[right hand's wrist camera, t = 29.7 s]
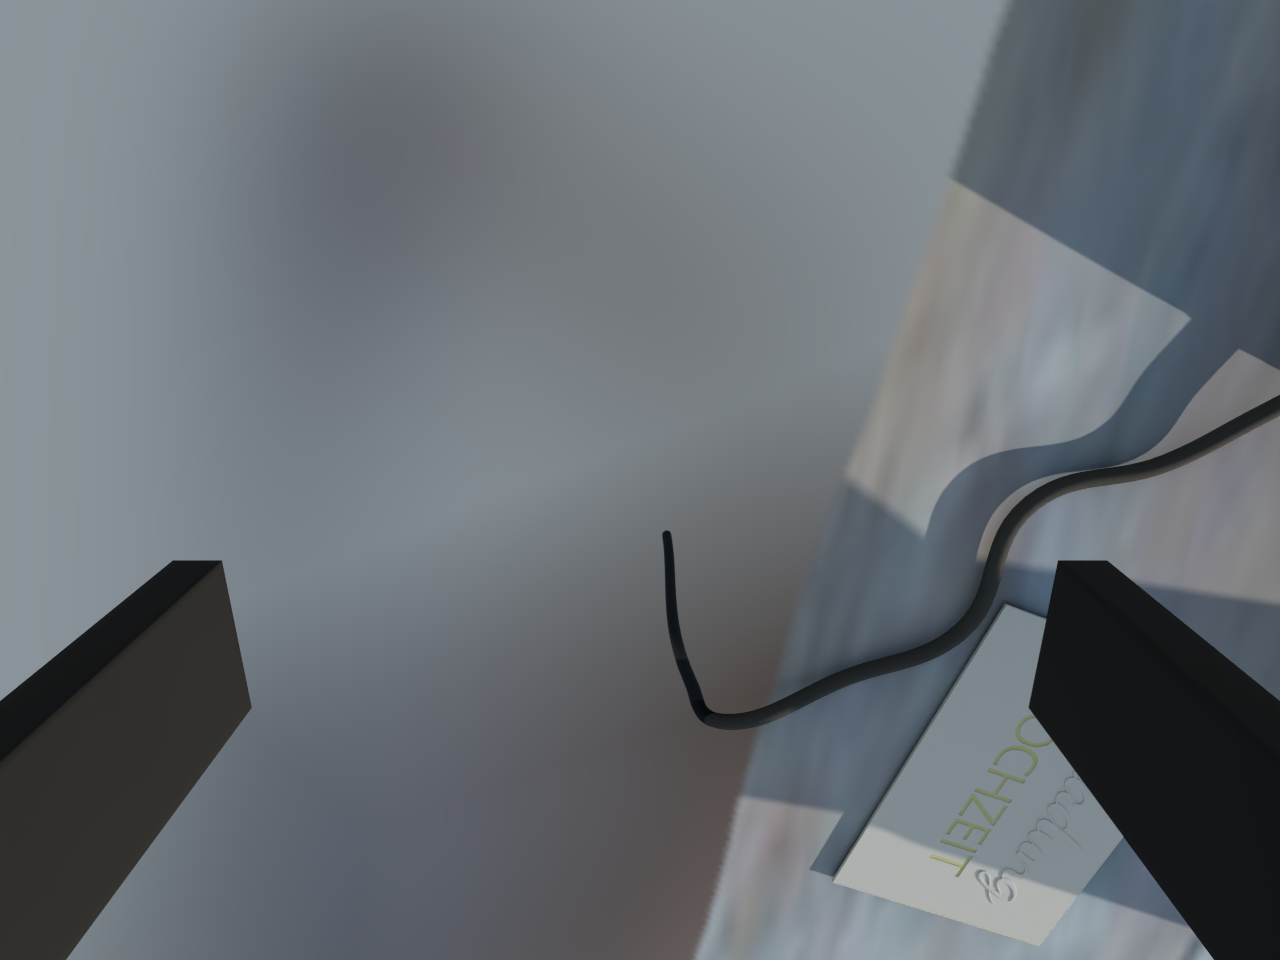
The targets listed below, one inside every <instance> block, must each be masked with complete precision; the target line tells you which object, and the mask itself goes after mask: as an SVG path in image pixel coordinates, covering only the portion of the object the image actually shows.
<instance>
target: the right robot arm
mask: <svg viewBox="0 0 1280 960" xmlns="http://www.w3.org/2000/svg"><path fill="white" fill-rule="evenodd" d="M1278 416H1280V395H1279V396H1277V397H1275V398H1273V399H1271V400H1269V401H1267V402H1265V403H1263V404H1261V405H1259V406H1257V407H1256V408H1254V409H1252V410H1250V411H1248V412H1246V413H1244V414H1242V415H1240V416H1239V417H1237V418H1235V419H1233V420H1231V421H1229V422H1228V423H1226V424H1224V425H1222V426H1220V427H1219V428H1217V429H1215V430H1213V431H1211V432H1209V433H1208V434H1206V435H1204V436H1202V437H1200V438H1198V439H1196V440H1194V441H1192V442H1190V443H1188V444H1186V445H1184V446H1182V447H1180V448H1178V449H1175V450H1173V451H1171V452H1169V453H1166V454H1164V455H1161V456H1158V457H1156V458H1153V459H1150V460H1147V461H1143V462H1139V463H1135V464H1130V465H1125V466H1119V467H1112V468H1105V469H1098V470H1091V471H1085V472H1080V473H1075V474H1071V475H1067V476H1064V477H1061V478H1058V479H1056V480H1053V481H1051V482H1048V483H1046V484H1045V485H1043V486H1041V487H1039V488H1037V489H1036V490H1034V491H1033V492H1032V493H1030V494H1029V495H1027V496H1026V497H1025V498H1024V499H1022V500H1021V501H1020V502H1019V503H1018V504H1017V505H1016V506H1015V507H1014V508H1013V509H1012V510H1011V512H1010V513H1009V514H1008V515H1007V517H1006V518H1005V519H1004V521H1003V522H1002V524H1001V526H1000V528H999V529H998V531H997V533H996V536H995V538H994V540H993V543H992V546H991V549H990V552H989V555H988V559H987V562H986V566H985V570H984V574H983V577H982V581H981V584H980V587H979V590H978V592H977V595H976V598H975V600H974V601H973V603H972V605H971V607H970V609H969V610H968V611H967V613H966V614H965V615H964V617H963V618H962V619H961V620H960V621H959V622H958V623H957V624H956V625H955V626H954V627H952V628H951V629H950V630H949V631H947V632H946V633H945V634H943V635H942V636H940V637H938V638H937V639H935V640H933V641H931V642H929V643H927V644H925V645H923V646H920V647H918V648H915V649H912V650H909V651H906V652H903V653H899V654H896V655H892V656H888V657H884V658H880V659H877V660H873V661H869V662H866V663H863V664H859V665H856V666H853V667H850V668H848V669H845V670H842V671H840V672H837V673H835V674H833V675H830V676H828V677H826V678H824V679H821V680H819V681H817V682H815V683H813V684H811V685H809V686H807V687H805V688H803V689H801V690H799V691H797V692H795V693H794V694H792V695H790V696H788V697H786V698H783V699H781V700H779V701H777V702H775V703H773V704H770V705H768V706H765V707H763V708H760V709H757V710H754V711H750V712H745V713H738V714H720V713H715V712H713V711H712V710H710V709H709V708H708V707H707V706H706V704H705V701H704V698H703V695H702V692H701V689H700V686H699V684H698V681H697V679H696V677H695V674H694V672H693V670H692V667H691V665H690V662H689V659H688V656H687V653H686V651H685V647H684V643H683V639H682V635H681V630H680V625H679V618H678V611H677V600H676V583H675V563H674V551H673V542H672V535H671V532H670V531H668V530H666V531H664V532H663V533H662V539H663V548H664V564H665V598H666V614H667V624H668V630H669V636H670V641H671V646H672V650H673V654H674V657H675V660H676V663H677V667H678V669H679V672H680V674H681V677H682V680H683V682H684V685H685V687H686V690H687V693H688V697H689V700H690V704H691V706H692V709H693V711H694V713H695V714H696V716H697V717H698V719H699V720H700V721H701V722H703V723H704V724H706V725H708V726H711V727H715V728H718V729H725V730H738V729H747V728H752V727H757V726H760V725H763V724H766V723H769V722H772V721H774V720H777V719H779V718H781V717H783V716H786V715H788V714H790V713H792V712H794V711H796V710H798V709H800V708H802V707H804V706H806V705H808V704H810V703H812V702H814V701H816V700H818V699H820V698H822V697H824V696H826V695H828V694H830V693H832V692H834V691H837V690H839V689H841V688H844V687H846V686H849V685H851V684H854V683H857V682H860V681H863V680H866V679H869V678H873V677H876V676H880V675H883V674H887V673H891V672H895V671H899V670H902V669H906V668H910V667H913V666H916V665H919V664H922V663H925V662H927V661H930V660H932V659H934V658H936V657H939V656H940V655H942V654H944V653H946V652H948V651H949V650H951V649H952V648H954V647H955V646H957V645H958V644H960V643H961V642H962V641H963V640H965V639H966V638H967V637H968V636H969V635H970V634H971V633H972V632H973V631H974V630H975V629H976V628H977V627H978V626H979V624H980V623H981V622H982V620H983V619H984V618H985V616H986V614H987V612H988V611H989V609H990V607H991V605H992V602H993V600H994V597H995V595H996V592H997V589H998V586H999V582H1000V579H1001V575H1002V571H1003V568H1004V564H1005V561H1006V558H1007V554H1008V551H1009V549H1010V546H1011V544H1012V542H1013V539H1014V538H1015V536H1016V534H1017V532H1018V531H1019V529H1020V528H1021V526H1022V525H1023V524H1024V523H1025V521H1026V520H1027V519H1028V518H1029V517H1030V516H1031V515H1032V514H1034V513H1035V512H1036V511H1037V510H1038V509H1039V508H1041V507H1042V506H1044V505H1045V504H1047V503H1048V502H1050V501H1052V500H1054V499H1055V498H1057V497H1060V496H1062V495H1064V494H1067V493H1070V492H1073V491H1077V490H1081V489H1085V488H1091V487H1097V486H1104V485H1111V484H1119V483H1125V482H1132V481H1136V480H1141V479H1146V478H1149V477H1153V476H1157V475H1160V474H1163V473H1165V472H1168V471H1171V470H1173V469H1176V468H1178V467H1181V466H1183V465H1185V464H1188V463H1190V462H1192V461H1194V460H1196V459H1198V458H1200V457H1202V456H1204V455H1206V454H1208V453H1210V452H1212V451H1214V450H1216V449H1218V448H1220V447H1222V446H1224V445H1226V444H1227V443H1229V442H1231V441H1233V440H1235V439H1237V438H1238V437H1240V436H1242V435H1244V434H1246V433H1248V432H1249V431H1251V430H1253V429H1255V428H1257V427H1259V426H1261V425H1263V424H1265V423H1267V422H1269V421H1271V420H1273V419H1275V418H1277V417H1278ZM1028 708H1029V709H1030V711H1031V712H1032V713H1033V715H1034V716H1035V717H1036V719H1037V720H1038V721H1039V723H1040V724H1041V725H1042V727H1043V728H1044V730H1045V731H1046V732H1047V734H1048V735H1049V736H1050V738H1051V739H1052V740H1053V742H1054V743H1055V744H1056V746H1057V747H1058V749H1059V750H1060V751H1061V753H1062V754H1063V755H1064V757H1065V758H1066V759H1067V761H1068V762H1069V763H1070V765H1071V766H1072V768H1073V769H1074V770H1075V772H1076V773H1077V774H1078V776H1079V777H1080V778H1081V780H1082V781H1083V782H1084V784H1085V785H1086V787H1087V788H1088V789H1089V791H1090V792H1091V793H1092V795H1093V796H1094V797H1095V799H1096V800H1097V801H1098V803H1099V804H1100V806H1101V807H1102V808H1103V810H1104V811H1105V812H1106V814H1107V815H1108V816H1109V818H1110V819H1111V820H1112V822H1113V823H1114V825H1115V826H1116V827H1117V829H1118V830H1119V831H1120V833H1121V834H1122V835H1123V837H1124V838H1125V839H1126V841H1127V842H1128V844H1129V845H1130V846H1131V848H1132V849H1133V850H1134V852H1135V853H1136V854H1137V856H1138V857H1139V858H1140V860H1141V861H1142V863H1143V864H1144V865H1145V867H1146V868H1147V869H1148V871H1149V872H1150V873H1151V875H1152V876H1153V877H1154V879H1155V880H1156V882H1157V883H1158V884H1159V886H1160V887H1161V888H1162V890H1163V891H1164V892H1165V894H1166V895H1167V896H1168V898H1169V899H1170V901H1171V902H1172V903H1173V905H1174V906H1175V907H1176V909H1177V910H1178V911H1179V913H1180V914H1181V915H1182V917H1183V918H1184V920H1185V921H1186V922H1187V924H1188V925H1189V926H1190V928H1191V929H1192V930H1193V932H1194V933H1195V934H1196V936H1197V937H1198V939H1199V940H1200V941H1201V943H1202V944H1203V945H1204V947H1205V948H1206V949H1207V951H1208V952H1209V953H1210V955H1211V956H1212V958H1213V959H1214V960H1280V701H1279V700H1278V699H1277V698H1275V697H1274V696H1273V695H1272V694H1270V693H1269V692H1268V691H1267V690H1265V689H1264V688H1263V687H1262V686H1261V685H1259V684H1258V683H1257V682H1256V681H1254V680H1253V679H1252V678H1251V677H1249V676H1248V675H1247V674H1246V673H1245V672H1243V671H1242V670H1241V669H1240V668H1238V667H1237V666H1236V665H1235V664H1234V663H1232V662H1231V661H1230V660H1229V659H1227V658H1226V657H1225V656H1224V655H1222V654H1221V653H1220V652H1219V651H1218V650H1216V649H1215V648H1214V647H1213V646H1211V645H1210V644H1209V643H1208V642H1206V641H1205V640H1204V639H1203V638H1202V637H1200V636H1199V635H1198V634H1197V633H1195V632H1194V631H1193V630H1192V629H1190V628H1189V627H1188V626H1187V625H1186V624H1184V623H1183V622H1182V621H1181V620H1179V619H1178V618H1177V617H1176V616H1175V615H1173V614H1172V613H1171V612H1170V611H1168V610H1167V609H1166V608H1165V607H1163V606H1162V605H1161V604H1160V603H1159V602H1157V601H1156V600H1155V599H1154V598H1152V597H1151V596H1150V595H1149V594H1147V593H1146V592H1145V591H1144V590H1143V589H1141V588H1140V587H1139V586H1138V585H1136V584H1135V583H1134V582H1133V581H1131V580H1130V579H1129V578H1128V577H1127V576H1125V575H1124V574H1123V573H1122V572H1120V571H1119V570H1118V569H1117V568H1116V567H1114V566H1113V565H1112V564H1111V563H1109V562H1108V561H1058V564H1057V569H1056V574H1055V579H1054V584H1053V589H1052V594H1051V599H1050V604H1049V608H1048V613H1047V618H1046V623H1045V628H1044V633H1043V638H1042V643H1041V648H1040V653H1039V658H1038V663H1037V668H1036V673H1035V678H1034V683H1033V688H1032V692H1031V697H1030V702H1029V707H1028ZM250 709H251V702H250V698H249V693H248V688H247V683H246V678H245V673H244V668H243V663H242V658H241V653H240V648H239V643H238V638H237V633H236V628H235V623H234V618H233V613H232V609H231V604H230V599H229V594H228V589H227V584H226V579H225V574H224V569H223V564H222V561H172V562H171V563H169V564H168V565H167V566H166V567H165V568H163V569H162V570H161V571H160V572H158V573H157V574H156V575H155V576H153V577H152V578H151V579H150V580H149V581H147V582H146V583H145V584H144V585H142V586H141V587H140V588H139V589H137V590H136V591H135V592H134V593H133V594H131V595H130V596H129V597H128V598H126V599H125V600H124V601H123V602H122V603H120V604H119V605H118V606H117V607H115V608H114V609H113V610H112V611H110V612H109V613H108V614H107V615H105V616H104V617H103V618H102V619H101V620H99V621H98V622H97V623H96V624H94V625H93V626H92V627H91V628H90V629H88V630H87V631H86V632H85V633H83V634H82V635H81V636H80V637H78V638H77V639H76V640H75V641H74V642H72V643H71V644H70V645H69V646H67V647H66V648H65V649H64V650H62V651H61V652H60V653H59V654H58V655H56V656H55V657H54V658H53V659H51V660H50V661H49V662H48V663H47V664H45V665H44V666H43V667H42V668H40V669H39V670H38V671H37V672H35V673H34V674H33V675H32V676H31V677H29V678H28V679H27V680H26V681H24V682H23V683H22V684H21V685H19V686H18V687H17V688H16V689H15V690H13V691H12V692H11V693H10V694H8V695H7V696H6V697H5V698H3V699H2V700H1V701H0V960H66V959H67V958H68V956H69V955H70V953H71V952H72V951H73V949H74V948H75V947H76V945H77V944H78V943H79V941H80V940H81V938H82V937H83V936H84V934H85V933H86V932H87V930H88V929H89V928H90V926H91V925H92V924H93V922H94V921H95V919H96V918H97V917H98V915H99V914H100V913H101V911H102V910H103V909H104V907H105V906H106V905H107V903H108V902H109V900H110V899H111V898H112V896H113V895H114V894H115V892H116V891H117V890H118V888H119V887H120V886H121V884H122V883H123V881H124V880H125V879H126V877H127V876H128V875H129V873H130V872H131V871H132V869H133V868H134V866H135V865H136V864H137V863H138V861H139V860H140V858H141V857H142V856H143V854H144V853H145V852H146V850H147V849H148V848H149V846H150V845H151V843H152V842H153V841H154V839H155V838H156V837H157V835H158V834H159V833H160V831H161V830H162V829H163V827H164V826H165V824H166V823H167V822H168V820H169V819H170V818H171V816H172V815H173V814H174V812H175V811H176V810H177V808H178V807H179V806H180V804H181V803H182V801H183V800H184V799H185V797H186V796H187V795H188V793H189V792H190V791H191V789H192V788H193V787H194V785H195V784H196V782H197V781H198V780H199V778H200V777H201V776H202V774H203V773H204V772H205V770H206V769H207V767H208V766H209V765H210V763H211V762H212V761H213V759H214V758H215V757H216V755H217V754H218V753H219V751H220V750H221V748H222V747H223V746H224V744H225V743H226V742H227V740H228V739H229V738H230V736H231V735H232V734H233V732H234V731H235V730H236V728H237V727H238V725H239V724H240V723H241V721H242V720H243V719H244V717H245V716H246V715H247V713H248V712H249V711H250Z"/></svg>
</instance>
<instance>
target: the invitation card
mask: <svg viewBox="0 0 1280 960" xmlns="http://www.w3.org/2000/svg"><path fill="white" fill-rule="evenodd" d="M1045 623H1046V618H1043V617H1040V616H1038V615H1035V614H1032V613H1030V612H1027V611H1024V610H1022V609H1019V608H1016V607H1013V606H1011V605H1008V604H1004V605H1003V607H1002V609H1001V610H1000V612H999V613H998V615H997V617H996V618H995V620H994V621H993V623H992V625H991V626H990V628H989V629H988V631H987V633H986V634H985V636H984V637H983V639H982V641H981V642H980V644H979V645H978V647H977V649H976V650H975V652H974V653H973V655H972V657H971V658H970V660H969V661H968V663H967V665H966V666H965V668H964V669H963V671H962V673H961V674H960V676H959V677H958V679H957V681H956V682H955V684H954V685H953V687H952V689H951V690H950V692H949V693H948V695H947V697H946V698H945V700H944V701H943V703H942V705H941V706H940V708H939V709H938V711H937V713H936V714H935V716H934V717H933V719H932V721H931V722H930V724H929V725H928V727H927V729H926V730H925V732H924V733H923V735H922V737H921V738H920V740H919V741H918V743H917V745H916V746H915V748H914V749H913V751H912V753H911V754H910V756H909V757H908V759H907V761H906V762H905V764H904V765H903V767H902V769H901V770H900V772H899V773H898V775H897V777H896V778H895V780H894V781H893V783H892V785H891V786H890V788H889V789H888V791H887V793H886V794H885V796H884V797H883V799H882V801H881V802H880V804H879V805H878V807H877V809H876V810H875V812H874V813H873V815H872V817H871V818H870V820H869V821H868V823H867V825H866V826H865V828H864V829H863V831H862V833H861V834H860V836H859V837H858V839H857V841H856V842H855V844H854V845H853V847H852V849H851V850H850V852H849V853H848V855H847V857H846V858H845V860H844V861H843V863H842V865H841V866H840V868H839V870H838V871H837V873H836V874H835V876H834V878H833V879H832V881H833V883H836V884H840V885H843V886H846V887H849V888H853V889H856V890H859V891H862V892H866V893H869V894H872V895H875V896H878V897H882V898H885V899H888V900H891V901H895V902H898V903H901V904H904V905H908V906H911V907H914V908H917V909H921V910H924V911H927V912H930V913H934V914H937V915H940V916H943V917H946V918H950V919H953V920H956V921H959V922H963V923H966V924H969V925H972V926H976V927H979V928H982V929H985V930H989V931H992V932H995V933H998V934H1002V935H1005V936H1008V937H1011V938H1015V939H1018V940H1021V941H1024V942H1027V943H1031V944H1034V945H1037V946H1040V944H1041V943H1042V942H1043V941H1044V939H1045V938H1046V937H1047V935H1048V934H1049V933H1050V931H1051V930H1052V929H1053V928H1054V926H1055V925H1056V924H1057V922H1058V921H1059V920H1060V919H1061V917H1062V916H1063V915H1064V913H1065V912H1066V911H1067V909H1068V908H1069V907H1070V906H1071V904H1072V903H1073V902H1074V900H1075V899H1076V898H1077V896H1078V895H1079V894H1080V893H1081V891H1082V890H1083V889H1084V887H1085V886H1086V885H1087V884H1088V882H1089V881H1090V880H1091V878H1092V877H1093V876H1094V874H1095V873H1096V872H1097V871H1098V869H1099V868H1100V867H1101V865H1102V864H1103V863H1104V862H1105V860H1106V859H1107V858H1108V856H1109V855H1110V854H1111V852H1112V851H1113V850H1114V849H1115V847H1116V846H1117V845H1118V843H1119V842H1120V841H1121V840H1122V838H1123V835H1122V834H1121V833H1120V831H1119V830H1118V829H1117V827H1116V826H1115V825H1114V823H1113V822H1112V820H1111V819H1110V818H1109V816H1108V815H1107V814H1106V812H1105V811H1104V810H1103V808H1102V807H1101V806H1100V804H1099V803H1098V801H1097V800H1096V799H1095V797H1094V796H1093V795H1092V793H1091V792H1090V791H1089V789H1088V788H1087V787H1086V785H1085V784H1084V782H1083V781H1082V780H1081V778H1080V777H1079V776H1078V774H1077V773H1076V772H1075V770H1074V769H1073V768H1072V766H1071V765H1070V763H1069V762H1068V761H1067V759H1066V758H1065V757H1064V755H1063V754H1062V753H1061V751H1060V750H1059V749H1058V747H1057V746H1056V744H1055V743H1054V742H1053V740H1052V739H1051V738H1050V736H1049V735H1048V734H1047V732H1046V731H1045V730H1044V728H1043V727H1042V725H1041V724H1040V723H1039V721H1038V720H1037V719H1036V717H1035V716H1034V715H1033V713H1032V712H1031V711H1030V709H1029V708H1028V707H1029V702H1030V697H1031V692H1032V688H1033V683H1034V678H1035V673H1036V668H1037V663H1038V658H1039V653H1040V648H1041V643H1042V638H1043V633H1044V628H1045Z"/></svg>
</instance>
